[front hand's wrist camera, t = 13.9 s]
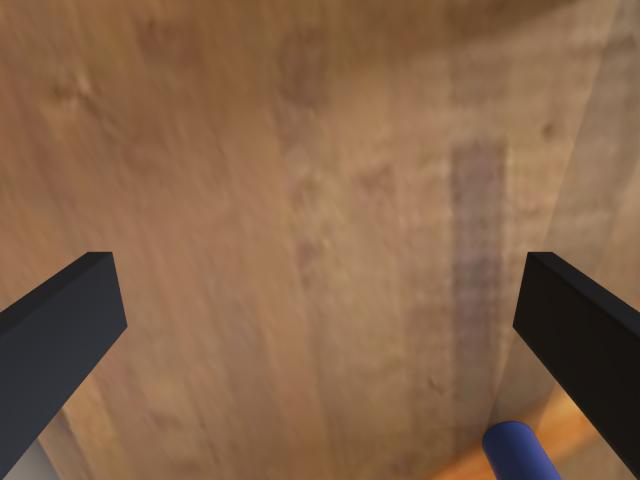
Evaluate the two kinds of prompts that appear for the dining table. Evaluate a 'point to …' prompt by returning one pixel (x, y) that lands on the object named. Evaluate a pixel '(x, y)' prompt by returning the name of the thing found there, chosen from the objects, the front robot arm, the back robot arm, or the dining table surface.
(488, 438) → the cylinder
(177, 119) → the dining table surface
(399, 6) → the dining table surface
